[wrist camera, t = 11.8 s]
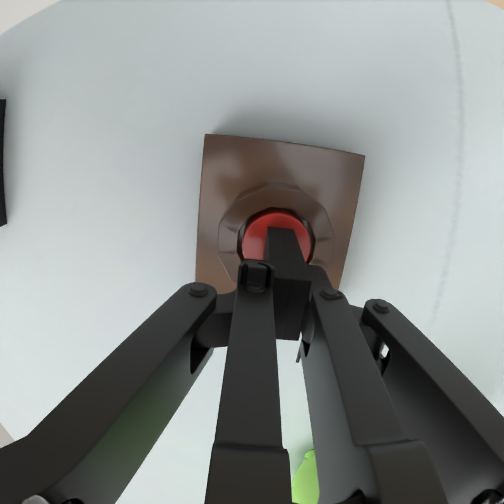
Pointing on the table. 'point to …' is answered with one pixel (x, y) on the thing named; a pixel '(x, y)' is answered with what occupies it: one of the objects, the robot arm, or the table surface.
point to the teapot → (306, 481)
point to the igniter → (273, 201)
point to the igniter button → (274, 218)
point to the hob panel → (0, 201)
